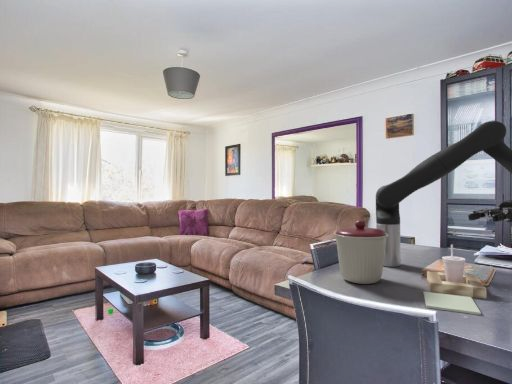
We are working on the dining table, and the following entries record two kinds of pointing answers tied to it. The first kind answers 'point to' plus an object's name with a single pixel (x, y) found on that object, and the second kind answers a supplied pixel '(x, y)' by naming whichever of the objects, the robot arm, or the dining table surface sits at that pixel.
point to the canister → (361, 253)
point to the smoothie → (453, 267)
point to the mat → (451, 303)
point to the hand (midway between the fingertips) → (481, 218)
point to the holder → (456, 285)
